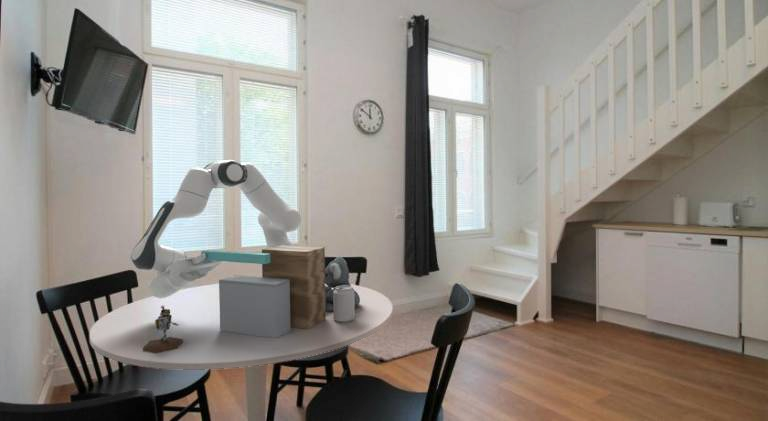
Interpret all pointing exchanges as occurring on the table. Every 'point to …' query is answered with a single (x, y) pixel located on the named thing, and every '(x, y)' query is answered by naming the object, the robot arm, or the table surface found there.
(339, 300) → the can
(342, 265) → the koala plush
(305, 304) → the tall wooden block
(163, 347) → the robot figurine
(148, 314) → the table surface
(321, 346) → the table surface
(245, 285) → the low stand
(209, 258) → the teal bar
